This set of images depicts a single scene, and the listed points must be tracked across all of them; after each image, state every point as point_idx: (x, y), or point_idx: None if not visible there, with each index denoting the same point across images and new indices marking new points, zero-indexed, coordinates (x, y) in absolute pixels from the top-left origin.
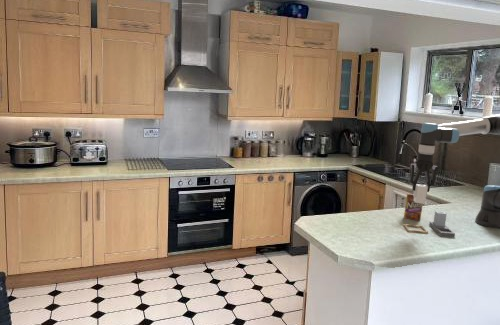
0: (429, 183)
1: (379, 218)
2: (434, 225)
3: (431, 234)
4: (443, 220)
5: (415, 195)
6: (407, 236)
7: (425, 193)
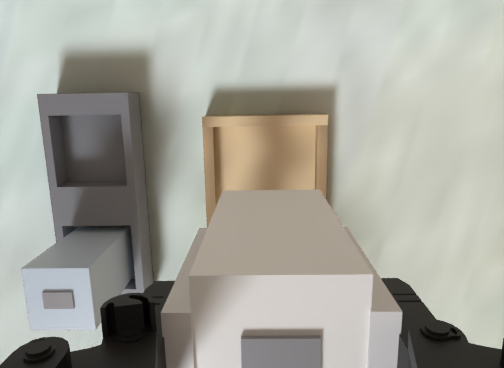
0: (119, 356)
1: None
2: (133, 231)
3: (175, 145)
4: (64, 247)
5: None
6: (341, 55)
7: (218, 228)
